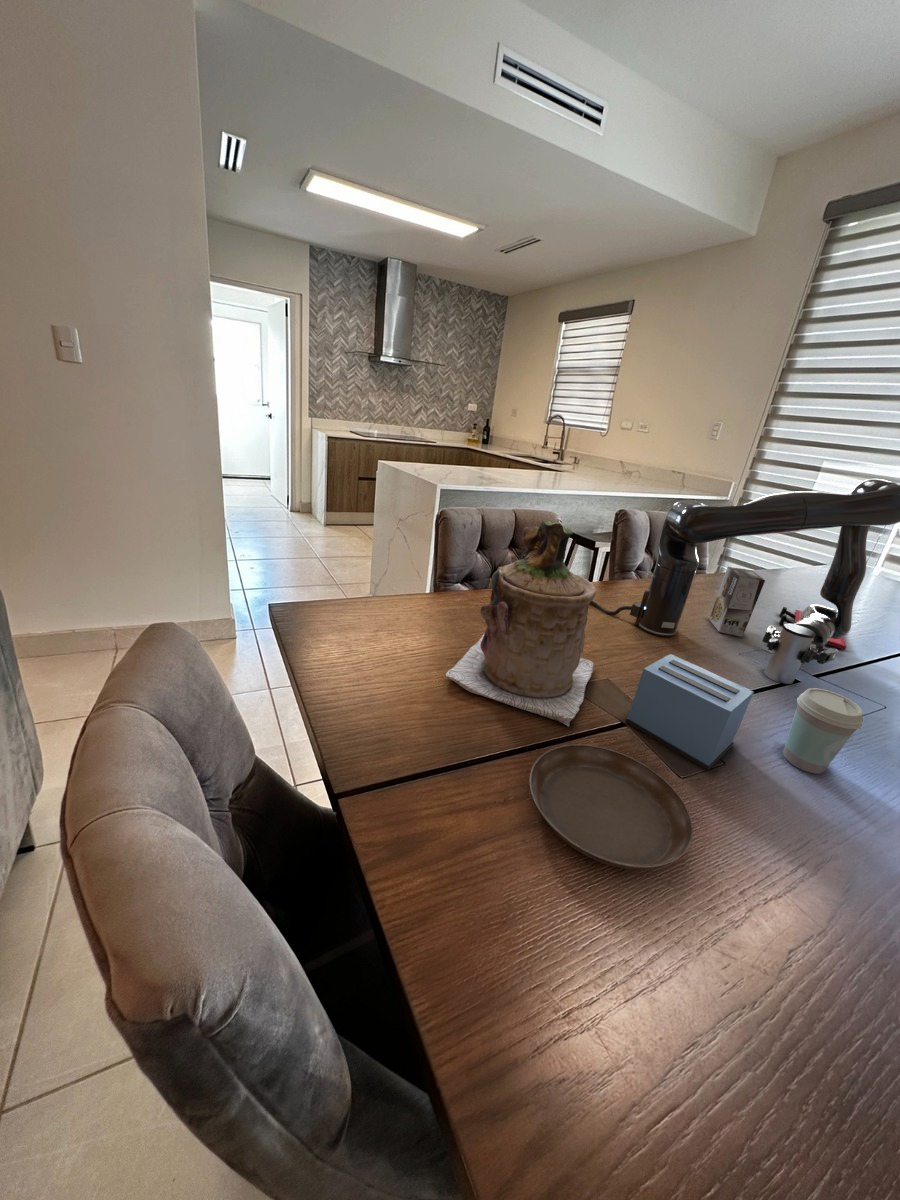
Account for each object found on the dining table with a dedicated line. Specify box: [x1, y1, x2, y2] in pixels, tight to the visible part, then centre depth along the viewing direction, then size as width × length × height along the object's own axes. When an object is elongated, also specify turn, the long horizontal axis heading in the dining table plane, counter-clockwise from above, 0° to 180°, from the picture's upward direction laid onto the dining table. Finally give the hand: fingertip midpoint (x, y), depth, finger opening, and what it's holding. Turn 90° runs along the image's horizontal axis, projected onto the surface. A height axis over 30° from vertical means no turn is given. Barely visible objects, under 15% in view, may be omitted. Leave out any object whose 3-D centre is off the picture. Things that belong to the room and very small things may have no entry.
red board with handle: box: [778, 606, 848, 651], centre depth 132 cm, size 30×3×15 cm
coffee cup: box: [782, 687, 864, 775], centre depth 76 cm, size 9×8×12 cm
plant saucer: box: [529, 743, 694, 870], centre depth 62 cm, size 21×21×3 cm
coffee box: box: [708, 566, 766, 637], centre depth 126 cm, size 9×6×16 cm
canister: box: [763, 623, 816, 685], centre depth 103 cm, size 6×6×12 cm
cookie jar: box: [445, 519, 598, 727], centre depth 87 cm, size 25×25×32 cm
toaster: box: [624, 653, 755, 772], centre depth 80 cm, size 14×11×11 cm
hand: (787, 652), depth 101 cm, fingers closed on canister, 5 cm apart
